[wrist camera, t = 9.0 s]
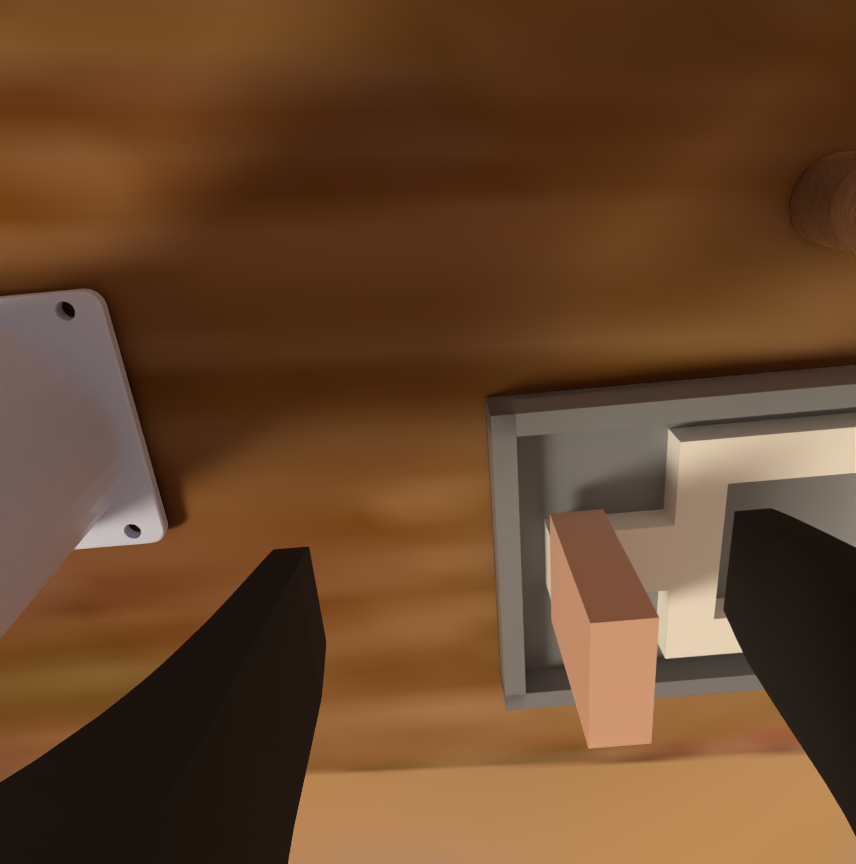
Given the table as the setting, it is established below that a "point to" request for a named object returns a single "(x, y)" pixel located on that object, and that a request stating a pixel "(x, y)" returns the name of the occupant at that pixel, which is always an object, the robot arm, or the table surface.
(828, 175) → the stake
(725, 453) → the square frame with handle
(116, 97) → the table surface
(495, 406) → the tray
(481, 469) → the table surface
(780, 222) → the table surface
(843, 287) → the table surface
